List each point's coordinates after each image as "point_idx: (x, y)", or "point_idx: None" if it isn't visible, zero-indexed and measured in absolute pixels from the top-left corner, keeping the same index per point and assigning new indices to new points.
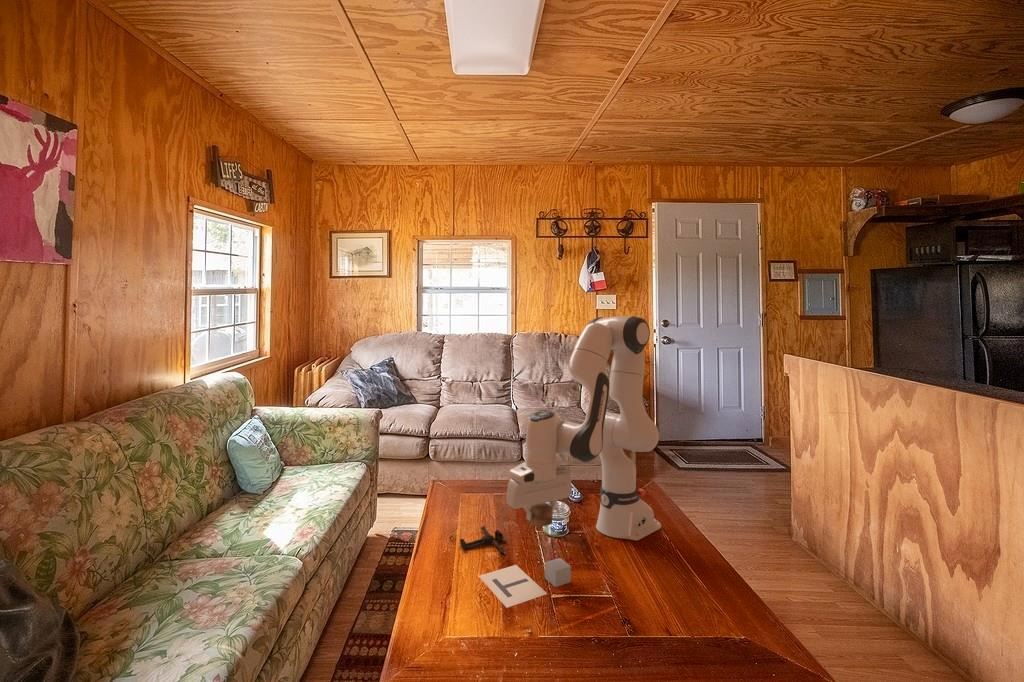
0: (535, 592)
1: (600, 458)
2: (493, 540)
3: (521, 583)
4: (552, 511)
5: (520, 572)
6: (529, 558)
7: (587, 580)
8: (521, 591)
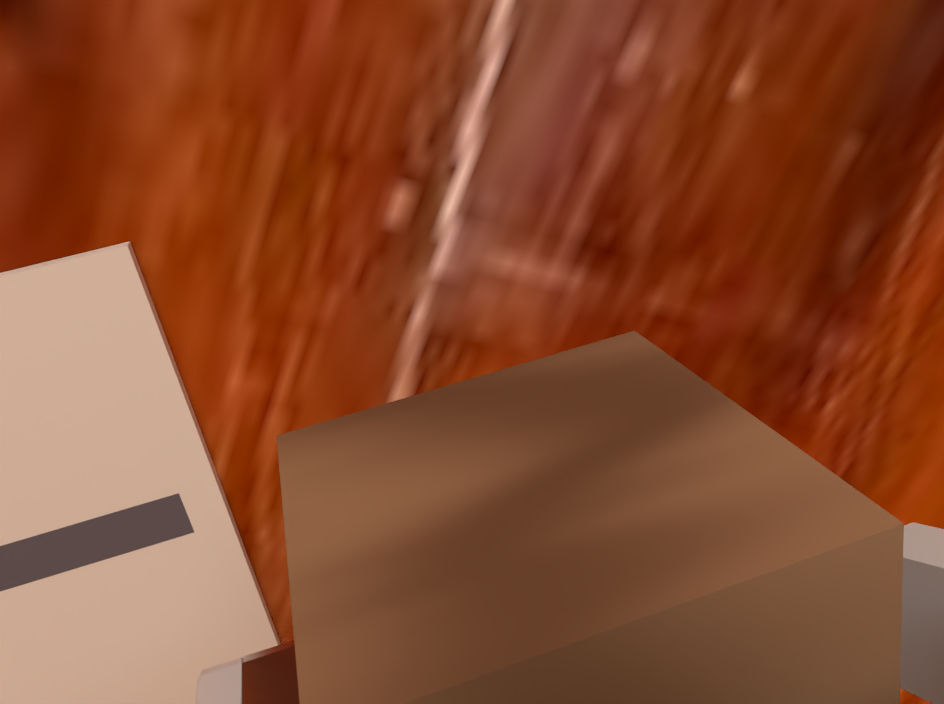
0: None
1: None
2: None
3: (115, 557)
4: None
5: (145, 394)
6: (324, 116)
7: None
8: (89, 661)
